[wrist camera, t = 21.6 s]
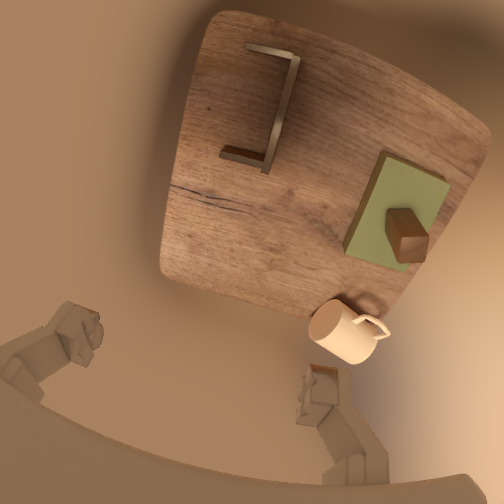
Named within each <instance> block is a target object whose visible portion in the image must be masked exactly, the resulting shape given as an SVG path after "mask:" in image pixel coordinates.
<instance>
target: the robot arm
mask: <svg viewBox="0 0 504 504" xmlns="http://www.w3.org/2000/svg"><path fill="white" fill-rule="evenodd" d="M99 320H100V316H99V313H98V312H96V311H93V310H90V309H87V308H85V307H82V306H80V305H77V304H75V303H72V302H69V301H66V302H64V303H63V304H62V306H61V307H60V308H59V309H58V311H57V312H56V313H55V315H54V316H53V317H52V318H51V320H50V321H49V322H48V324H47V325H46V326H45V327H43V326H42V327H40V328H37V329H35V330H33V331H31V332H29V333H27V334H25V335H23V336H21V337H19V338H16V339H14V340H12V341H10V342H8V343H6V344H4V345H2V346H0V504H487V500H486V496H485V494H484V493H483V491H482V490H481V489H480V487H479V486H478V485H477V484H476V483H475V482H474V480H473V479H472V478H471V477H470V476H469V475H466V474H458V475H453V476H448V477H442V478H436V479H430V480H422V481H415V482H406V483H396V484H389V460H388V452H387V451H386V449H385V448H384V446H383V445H382V443H381V442H380V441H379V439H378V438H377V436H376V435H375V434H374V432H373V431H372V429H371V428H370V427H369V425H368V424H367V422H366V421H365V420H364V418H363V417H362V415H361V414H360V412H359V411H358V410H357V408H353V405H352V387H351V372H350V370H349V369H341V368H335V367H328V366H321V365H313V364H310V365H309V366H308V368H307V369H306V375H304V376H303V377H302V379H301V382H300V385H299V391H298V400H299V402H300V404H299V406H298V408H297V411H296V412H297V413H296V424H299V425H307V426H314V427H317V429H318V431H319V433H320V435H321V437H322V439H323V441H324V443H325V445H326V446H327V449H328V451H329V453H330V454H331V456H332V458H333V460H334V462H335V464H336V465H334V466H333V467H332V468H330V469H329V470H327V471H326V472H325V473H323V477H322V485H312V484H298V483H288V482H278V481H270V480H262V479H256V478H249V477H243V476H238V475H232V474H227V473H222V472H218V471H213V470H208V469H204V468H200V467H196V466H192V465H189V464H185V463H181V462H178V461H174V460H171V459H168V458H164V457H161V456H158V455H154V454H152V453H149V452H146V451H143V450H140V449H137V448H134V447H132V446H129V445H127V444H124V443H121V442H119V441H116V440H114V439H112V438H109V437H107V436H104V435H102V434H100V433H97V432H95V431H93V430H91V429H89V428H86V427H84V426H82V425H80V424H78V423H76V422H74V421H72V420H70V419H68V418H66V417H64V416H62V415H60V414H58V413H56V412H55V411H53V410H51V409H49V408H47V407H45V406H44V405H42V404H40V402H41V400H42V398H43V396H44V391H43V390H42V389H41V387H40V386H39V384H38V383H40V382H41V381H43V380H44V379H46V378H47V377H49V376H50V375H52V374H53V373H55V372H56V371H58V370H59V369H61V368H62V367H64V366H65V365H67V364H68V363H70V361H71V362H74V363H76V364H79V365H81V366H84V367H88V365H89V363H90V362H91V360H92V358H93V356H94V352H93V350H95V349H97V348H99V346H100V344H101V342H102V340H103V336H104V329H103V326H102V325H101V324H100V323H99Z"/></svg>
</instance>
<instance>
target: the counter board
mask: <svg viewBox="0 0 504 504" xmlns="http://www.w3.org/2000/svg"><path fill="white" fill-rule="evenodd" d="M450 186H451V185H450V184H449V183H448V182H447V181H446V180H445V179H444V178H442V177H440V176H438V175H436V174H434V173H432V172H430V171H428V170H426V169H423V168H421V167H419V166H417V165H415V164H412V163H410V162H408V161H405V160H403V159H401V158H398V157H396V156H394V155H391V154H389V153H386V152H384V151H381V153H380V156H379V159H378V161H377V164H376V166H375V169H374V171H373V174H372V177H371V179H370V181H369V184H368V186H367V189H366V191H365V194H364V196H363V199H362V201H361V203H360V206H359V208H358V210H357V213H356V215H355V217H354V220H353V222H352V224H351V226H350V229H349V231H348V233H347V235H346V238H345V240H344V242H343V248H344V253H345V254H346V255H349V256H352V257H356V258H359V259H362V260H365V261H369V262H372V263H375V264H378V265H382V266H385V267H388V268H391V269H395V270H398V271H401V272H404V273H405V272H406V270H407V268H408V267H409V265H410V263H404V264H399V263H398V262H397V260H396V258H395V255H394V253H393V250H392V248H391V245H390V243H389V241H388V238H387V236H386V234H385V226H386V212H387V210H388V209H411V210H413V212H414V213H415V215H416V216H417V218H418V219H419V221H420V222H421V224H422V226H423V227H424V229H425V230H426V232H427V233H428V231H429V229H430V227H431V225H432V223H433V221H434V219H435V217H436V216H437V214H438V212H439V210H440V207H441V205H442V203H443V201H444V199H445V197H446V195H447V193H448V191H449V189H450Z"/></svg>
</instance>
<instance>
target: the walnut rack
mask: <svg viewBox="0 0 504 504" xmlns="http://www.w3.org/2000/svg"><path fill="white" fill-rule="evenodd" d="M244 49H245V50H248V51H252V52H257V53H261V54H266V55H270V56H275V57H279V58H283V59H287V60H291V63H290V66H289V70H288V73H287V77H286V81H285V84H284V88H283V92H282V95H281V99H280V103H279V106H278V110H277V114H276V117H275V121H274V125H273V128H272V132H271V136H270V139H269V143H268V147H267V151H266V154H265V156H264V155H260V154H257V153H253V152H249V151H245V150H241V149H237V148H233V147H229V146H225V147H224V148H223V149H222V150H221V151H220V155H219V158H223V159H227V160H231V161H235V162H239V163H243V164H247V165H251V166H254V167H258V168H262V169H261V173H264V174H269V172H270V169H271V165H272V162H273V159H274V155H275V152H276V148H277V145H278V141H279V137H280V134H281V130H282V127H283V123H284V120H285V116H286V112H287V109H288V105H289V102H290V98H291V95H292V91H293V88H294V84H295V80H296V77H297V73H298V70H299V66H300V63H301V57H299V56H296V55H295V54H294V53H293V52H290V51H286V50H282V49H277V48H273V47H269V46H264V45H259V44H254V43H249V42H246V43H245V46H244Z"/></svg>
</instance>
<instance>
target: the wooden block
mask: <svg viewBox="0 0 504 504" xmlns="http://www.w3.org/2000/svg"><path fill="white" fill-rule="evenodd" d="M385 234H386V236H387V238H388V241H389V243H390V245H391V248H392V250H393V253H394V255H395V258H396V260H397V262H398V263H399V264H404V263H423V262H425V259H426V254H427V248H428V243H429V235H428V233H427V232H426V230H425V229H424V227H423V226H422V224H421V222H420V221H419V219H418V218H417V216H416V215H415V213H414V212H413V210H411V209H388V210H387V212H386V226H385Z"/></svg>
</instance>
